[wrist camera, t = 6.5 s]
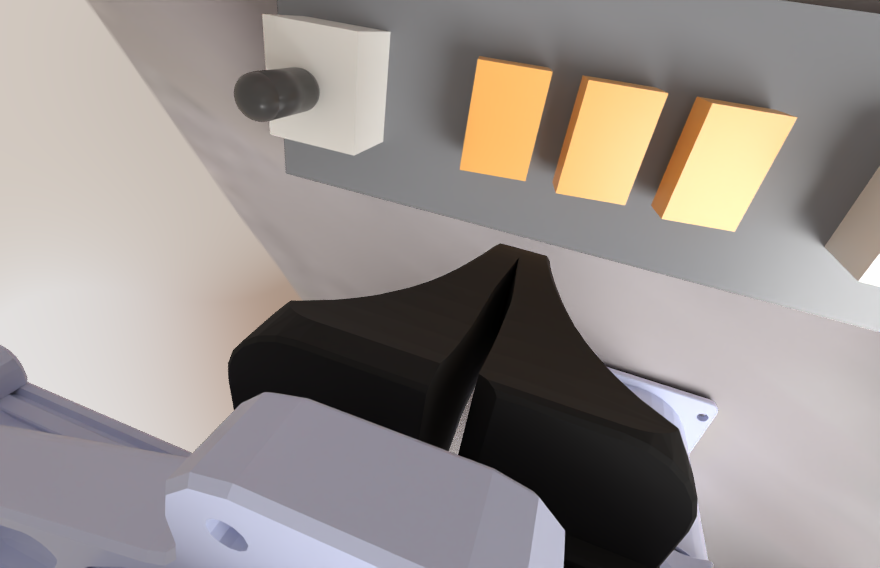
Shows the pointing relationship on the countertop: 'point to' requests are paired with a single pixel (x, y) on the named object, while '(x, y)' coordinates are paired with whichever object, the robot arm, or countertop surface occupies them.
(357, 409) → the robot arm
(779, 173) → the power strip
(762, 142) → the switch
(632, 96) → the middle switch
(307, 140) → the left plug
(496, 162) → the switch
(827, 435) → the countertop surface
